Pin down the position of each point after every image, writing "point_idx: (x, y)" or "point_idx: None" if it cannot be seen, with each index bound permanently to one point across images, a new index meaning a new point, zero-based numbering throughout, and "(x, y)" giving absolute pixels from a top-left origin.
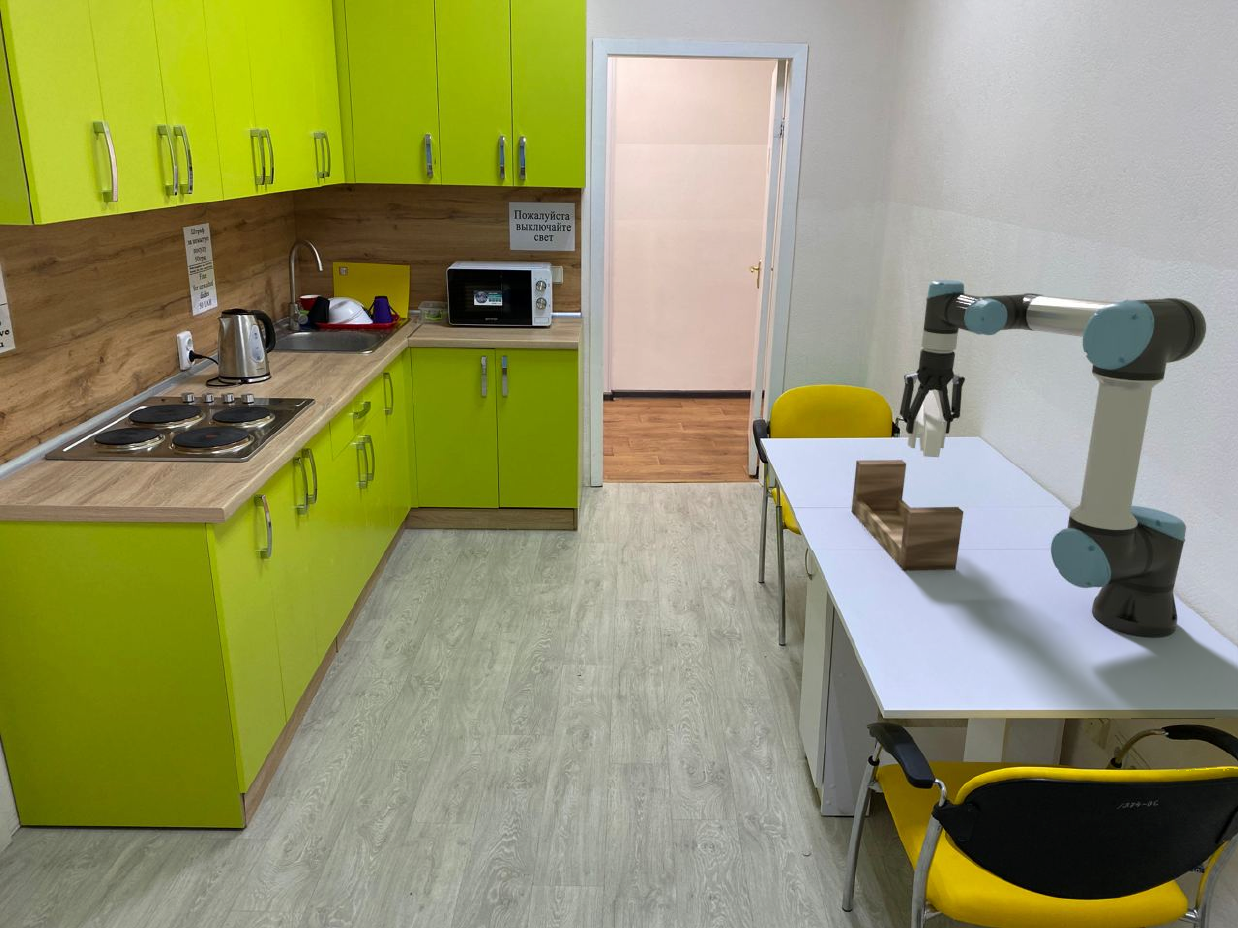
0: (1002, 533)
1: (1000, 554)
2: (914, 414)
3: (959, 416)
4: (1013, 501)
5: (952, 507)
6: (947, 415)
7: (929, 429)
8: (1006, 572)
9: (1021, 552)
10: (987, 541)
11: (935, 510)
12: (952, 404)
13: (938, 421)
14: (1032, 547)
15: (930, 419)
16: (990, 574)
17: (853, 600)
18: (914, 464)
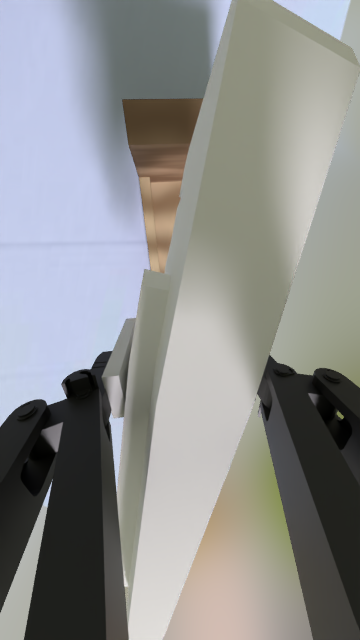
0: (49, 298)
1: (61, 224)
2: (291, 388)
3: (15, 411)
4: (24, 388)
5: (142, 139)
6: (92, 407)
7: (337, 81)
8: (62, 148)
9: (30, 232)
10: (73, 271)
11: (190, 114)
12: (27, 515)
13: (209, 241)
14: (12, 251)
15: (257, 284)
16: (89, 140)
17: (329, 24)
18: (114, 455)
